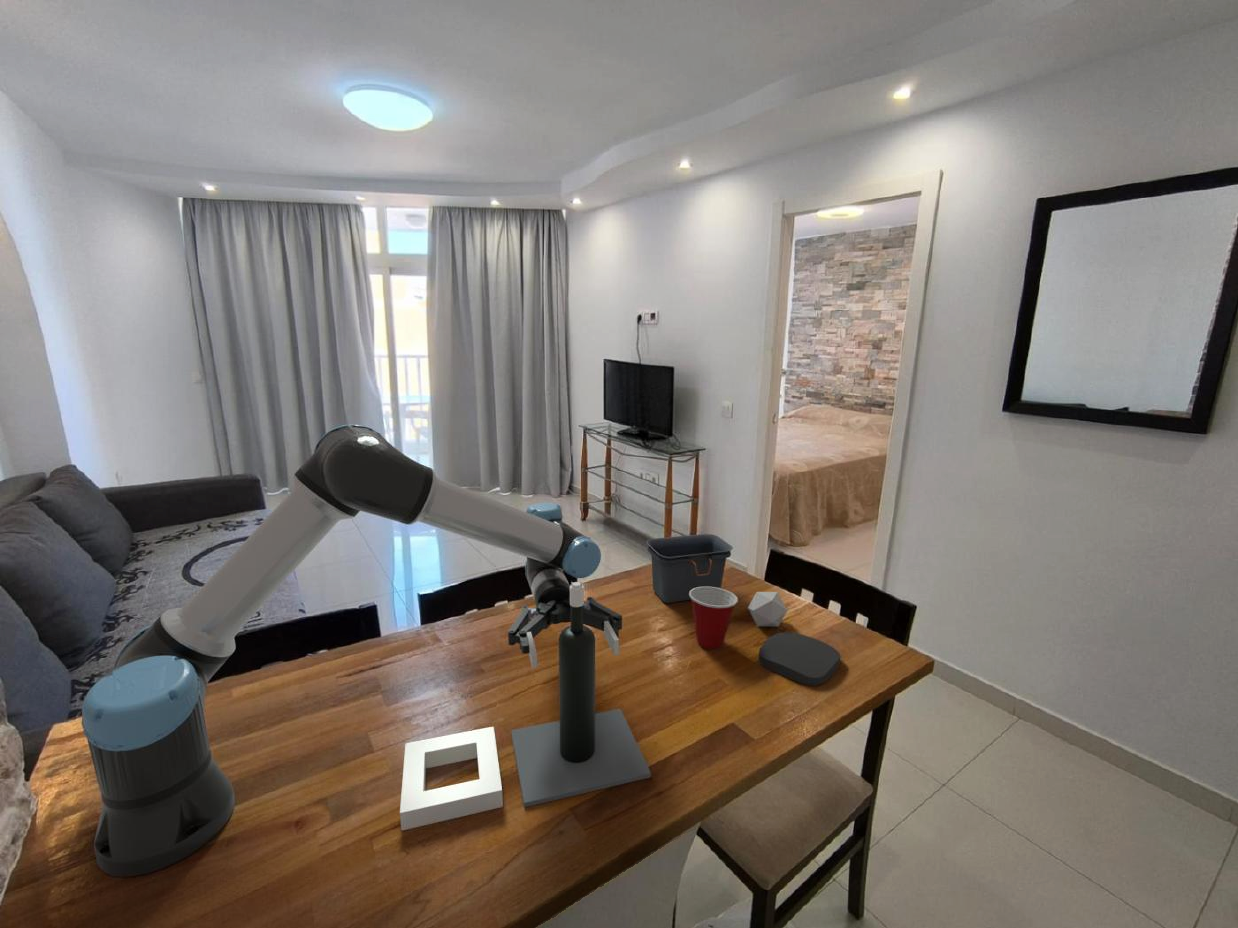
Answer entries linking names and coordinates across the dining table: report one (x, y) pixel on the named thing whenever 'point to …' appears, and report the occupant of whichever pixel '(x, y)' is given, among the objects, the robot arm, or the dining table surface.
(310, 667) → the dining table surface
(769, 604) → the die
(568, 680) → the wine bottle
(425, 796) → the frame
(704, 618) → the plastic cup
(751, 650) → the dining table surface
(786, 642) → the media streaming box
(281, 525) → the robot arm
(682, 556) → the storage bin
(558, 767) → the coaster mat
